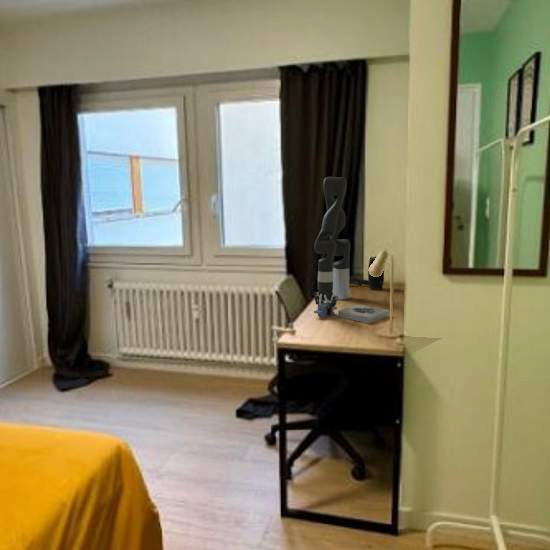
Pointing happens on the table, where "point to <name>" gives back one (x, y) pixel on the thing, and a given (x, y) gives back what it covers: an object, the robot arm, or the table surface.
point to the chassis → (363, 313)
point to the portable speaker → (375, 278)
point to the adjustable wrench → (360, 282)
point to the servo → (324, 310)
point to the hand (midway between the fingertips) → (325, 314)
